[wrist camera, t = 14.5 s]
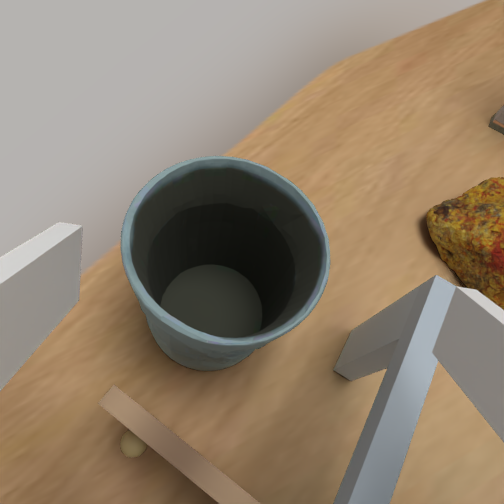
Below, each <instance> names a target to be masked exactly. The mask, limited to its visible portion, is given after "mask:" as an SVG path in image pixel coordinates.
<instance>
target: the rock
mask: <svg viewBox="0 0 504 504" xmlns="http://www.w3.org/2000/svg"><path fill="white" fill-rule="evenodd" d="M426 218H427V226H428V229H429V233H430V236H431V238H432V240H433V241H434V243H435V244H436V245H437V249H438V251H439V253H440V256H441V259H442V260H443V261H445V262H446V263H447V264H448V266H449V268H450V269H452V270H454V271H455V272H456V274H457V276H458V277H459V278H460V279H461V281H462V282H463V284H465V285H466V286H467V288H469V289H476V290H477V291H479V292H480V293H481V294H483V295H484V296H486V297H487V298H488V299H490V300H491V301H492V302H494V303H495V304H496V305H498V306H499V307H500V308H502V309H503V310H504V178H503V177H501V178H500V177H498V178H489V179H488V180H485V181H483V182H481V183H480V184H479V185H478V186H475V187H473V188H471V189H470V190H468V191H467V192H465V193H463V195H462V196H459V197H458V198H456V199H451V200H446V201H444V202H442V203H441V204H439V205H436V206H434V207H433V208H431V209H430V210H429V211H428V213H427V217H426Z"/></svg>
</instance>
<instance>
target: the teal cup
mask: <svg viewBox="0 0 504 504" xmlns="http://www.w3.org/2000/svg"><path fill="white" fill-rule="evenodd" d="M121 254H122V261H123V266H124V269H125V272H126V275H127V277H128V280H129V282H130V284H131V286H132V288H133V291H134V293H135V295H136V297H137V299H138V300H139V303H140V306H141V310H142V311H143V312H144V313H145V315H146V318H147V322H148V325H149V328H150V330H151V332H152V334H153V336H154V338H155V340H156V342H157V344H158V345H159V347H160V348H161V349H162V350H163V352H164V353H165V354H167V355H168V356H169V357H170V358H171V359H173V360H174V361H176V362H177V363H179V364H181V365H183V366H185V367H188V368H192V369H195V370H202V371H214V370H221V369H225V368H227V367H230V366H233V365H235V364H237V363H238V362H240V361H242V360H243V359H244V358H246V357H247V356H249V355H250V354H251V353H252V352H253V351H254V350H255V349H259V348H261V347H263V346H265V345H266V344H267V343H269V342H271V341H273V340H275V339H277V338H279V337H280V336H282V335H284V334H286V333H287V332H289V331H291V330H292V329H293V328H295V327H296V326H297V325H299V324H300V323H301V322H302V321H303V320H304V319H305V318H306V317H307V316H308V315H309V314H310V313H311V311H312V310H313V309H314V308H315V306H316V304H317V303H318V301H319V300H320V298H321V296H322V294H323V292H324V289H325V286H326V284H327V281H328V275H329V269H330V248H329V239H328V236H327V233H326V230H325V226H324V223H323V221H322V219H321V218H320V216H319V214H318V212H317V210H316V208H315V206H314V205H313V204H312V202H311V201H310V200H309V199H308V198H307V197H306V195H305V194H304V193H303V192H302V191H301V190H300V189H299V188H298V187H297V186H295V185H294V184H293V183H292V182H291V181H289V180H288V179H286V178H284V177H283V176H281V175H279V174H278V173H276V172H275V171H273V170H271V169H270V168H268V167H266V166H263V165H260V164H258V163H255V162H252V161H249V160H246V159H240V158H235V157H225V156H209V157H201V158H196V159H191V160H187V161H184V162H181V163H178V164H176V165H174V166H172V167H170V168H167V169H165V170H164V171H162V172H161V173H159V174H157V175H156V176H155V177H154V178H152V179H151V180H150V181H149V182H148V183H147V184H146V185H145V186H144V187H143V188H142V189H141V190H140V191H139V192H138V194H137V195H136V197H135V198H134V199H133V201H132V203H131V205H130V207H129V209H128V211H127V213H126V216H125V219H124V222H123V227H122V231H121Z"/></svg>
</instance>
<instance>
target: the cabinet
mask: <svg viewBox="0 0 504 504" xmlns="http://www.w3.org/2000/svg"><path fill="white" fill-rule="evenodd" d="M489 127H491V128H493V129H494V130H496V131H498V132H500V133H502V134H504V105H503V106H502V107H501V108H500V109H499V111H498V112H497V113H496V114H495V115H494V116H493V117H492V118H491V121H490V124H489Z"/></svg>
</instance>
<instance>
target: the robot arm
mask: <svg viewBox="0 0 504 504" xmlns="http://www.w3.org/2000/svg"><path fill="white" fill-rule="evenodd" d="M82 231H83V226H80V225H75V224H69V223H62V222H58V223H57V224H55V225H53V226H52V227H50V228H48V229H46V230H45V231H43V232H41V233H40V234H38V235H36V236H35V237H33V238H31V239H30V240H28V241H27V242H25V243H23V244H21V245H20V246H18V247H16V248H15V249H13V250H11V251H10V252H8V253H6V254H5V255H3V256H1V257H0V391H1V390H2V388H3V387H4V386H5V385H6V384H7V383H8V382H9V380H10V379H11V378H12V377H13V376H14V375H15V374H16V372H17V371H18V370H19V369H20V368H21V367H22V365H23V364H24V363H25V362H26V361H27V360H28V359H29V357H30V356H31V355H32V354H33V353H34V352H35V350H36V349H37V348H38V347H39V346H40V345H41V344H42V342H43V341H44V340H45V339H46V338H47V337H48V336H49V334H50V333H51V332H52V331H53V330H54V329H55V327H56V326H57V325H58V324H59V323H60V322H61V321H62V319H63V318H64V317H65V316H66V315H67V314H68V312H69V311H70V310H71V309H72V308H73V307H74V306H75V304H76V303H77V302H78V301H79V292H80V271H81V249H82ZM432 353H433V354H434V356H435V357H436V358H437V359H438V361H439V362H440V363H441V364H442V366H443V367H444V368H445V369H446V371H447V372H448V373H449V374H450V376H451V377H452V378H453V379H454V381H455V382H456V383H457V384H458V386H459V387H460V388H461V389H462V391H463V392H464V393H465V394H466V396H467V397H468V398H469V399H470V401H471V402H472V403H473V404H474V406H475V407H476V408H477V410H478V411H479V412H480V413H481V415H482V416H483V417H484V418H485V420H486V421H487V422H488V423H489V425H490V426H491V427H492V428H493V430H494V431H495V432H496V433H497V435H498V436H499V437H500V438H501V440H502V441H503V442H504V310H503V309H502V308H500V307H499V306H498V305H496V304H495V303H494V302H492V301H491V300H490V299H488V298H487V297H486V296H484V295H483V294H481V293H480V292H479V291H477V290H476V289H469V288H463V287H457V286H456V288H455V291H454V294H453V296H452V299H451V302H450V305H449V307H448V310H447V313H446V315H445V318H444V321H443V324H442V326H441V329H440V332H439V334H438V337H437V340H436V343H435V345H434V348H433V351H432Z"/></svg>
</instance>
